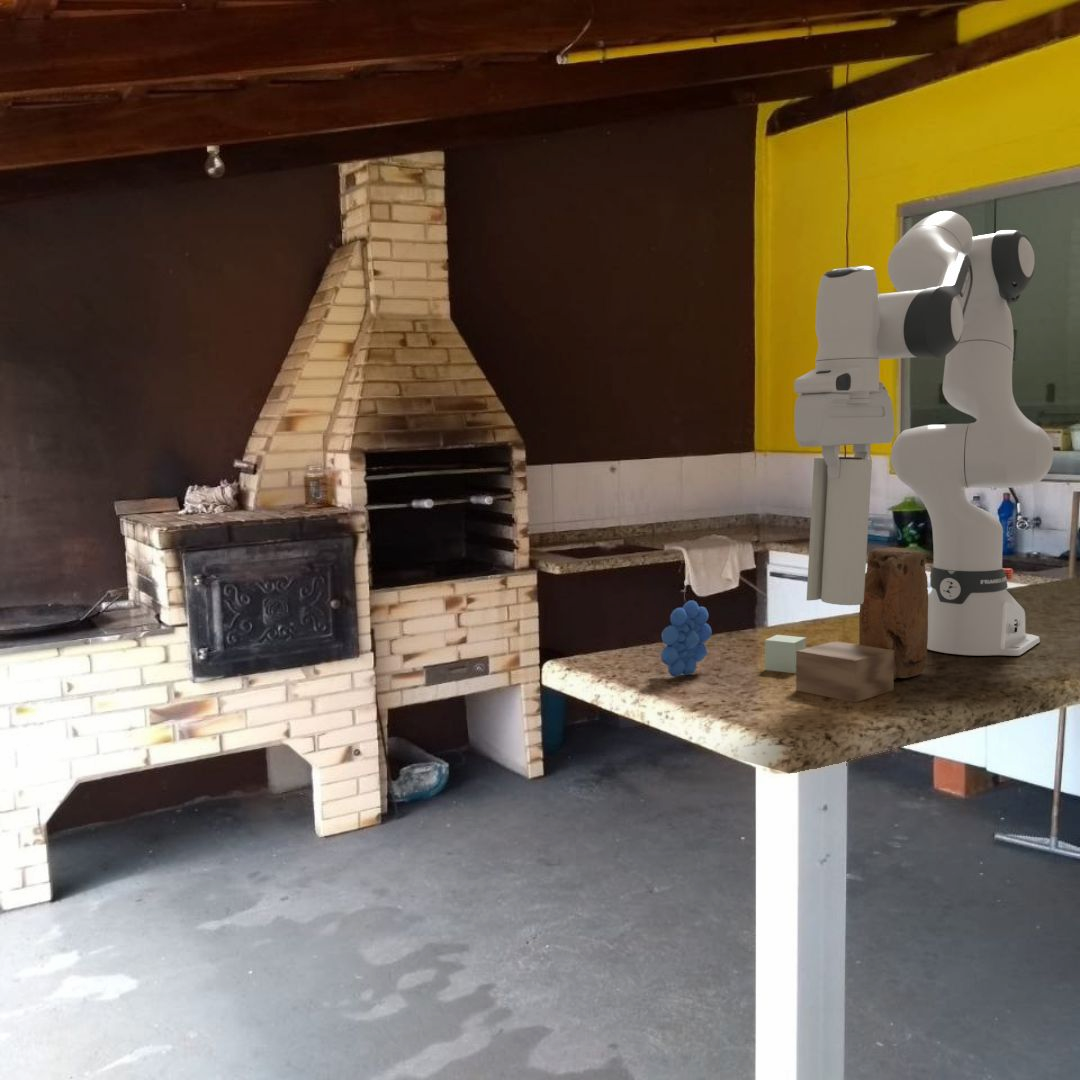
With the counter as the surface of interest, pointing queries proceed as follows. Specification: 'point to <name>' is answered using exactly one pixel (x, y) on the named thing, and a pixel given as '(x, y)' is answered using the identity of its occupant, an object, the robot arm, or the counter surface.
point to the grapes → (685, 638)
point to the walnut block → (845, 671)
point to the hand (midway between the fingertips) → (846, 476)
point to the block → (896, 607)
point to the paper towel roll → (839, 532)
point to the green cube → (783, 652)
